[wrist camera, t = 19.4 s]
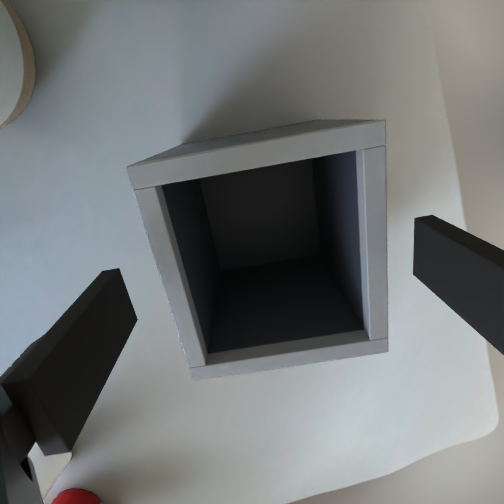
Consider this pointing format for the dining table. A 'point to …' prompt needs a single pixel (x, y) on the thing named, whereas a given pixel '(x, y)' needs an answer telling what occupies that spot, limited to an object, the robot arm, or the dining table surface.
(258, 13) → the dining table surface
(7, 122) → the vase
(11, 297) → the dining table surface
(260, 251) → the grey hollow box
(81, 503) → the plastic cup
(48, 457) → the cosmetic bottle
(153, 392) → the dining table surface
